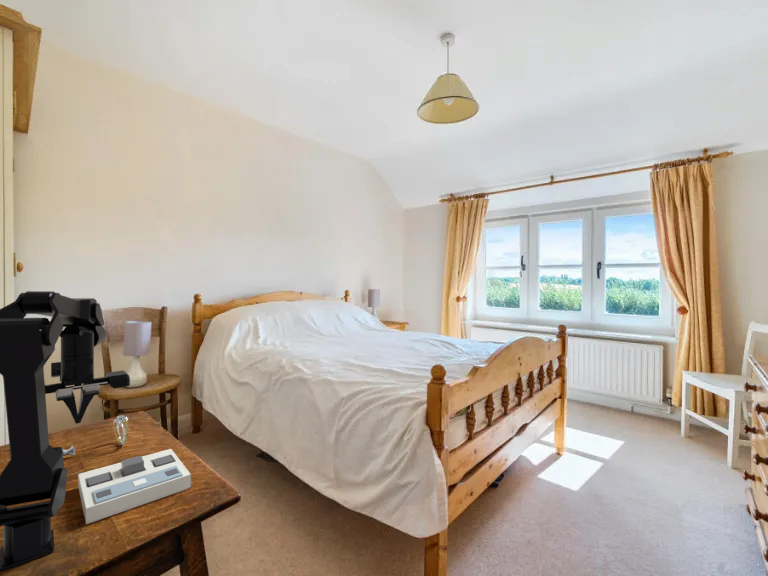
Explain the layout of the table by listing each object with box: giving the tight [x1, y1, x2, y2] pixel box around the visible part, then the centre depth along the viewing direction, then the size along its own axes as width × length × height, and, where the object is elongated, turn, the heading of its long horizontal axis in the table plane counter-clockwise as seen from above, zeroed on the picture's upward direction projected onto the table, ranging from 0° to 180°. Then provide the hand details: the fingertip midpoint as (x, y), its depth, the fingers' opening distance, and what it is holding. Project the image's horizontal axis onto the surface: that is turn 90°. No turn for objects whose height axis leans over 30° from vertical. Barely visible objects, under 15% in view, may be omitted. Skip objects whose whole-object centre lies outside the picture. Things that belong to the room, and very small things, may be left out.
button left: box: [87, 473, 111, 488], centre depth 78 cm, size 4×4×3 cm
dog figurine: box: [62, 444, 76, 457], centre depth 92 cm, size 3×6×4 cm
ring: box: [112, 414, 130, 446], centre depth 100 cm, size 7×3×8 cm, turn 48°
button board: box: [77, 448, 192, 525], centre depth 81 cm, size 16×18×3 cm
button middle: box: [121, 454, 144, 477], centre depth 82 cm, size 4×4×3 cm
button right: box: [153, 455, 174, 467], centre depth 87 cm, size 4×4×3 cm
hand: (77, 422), depth 83 cm, fingers closed
